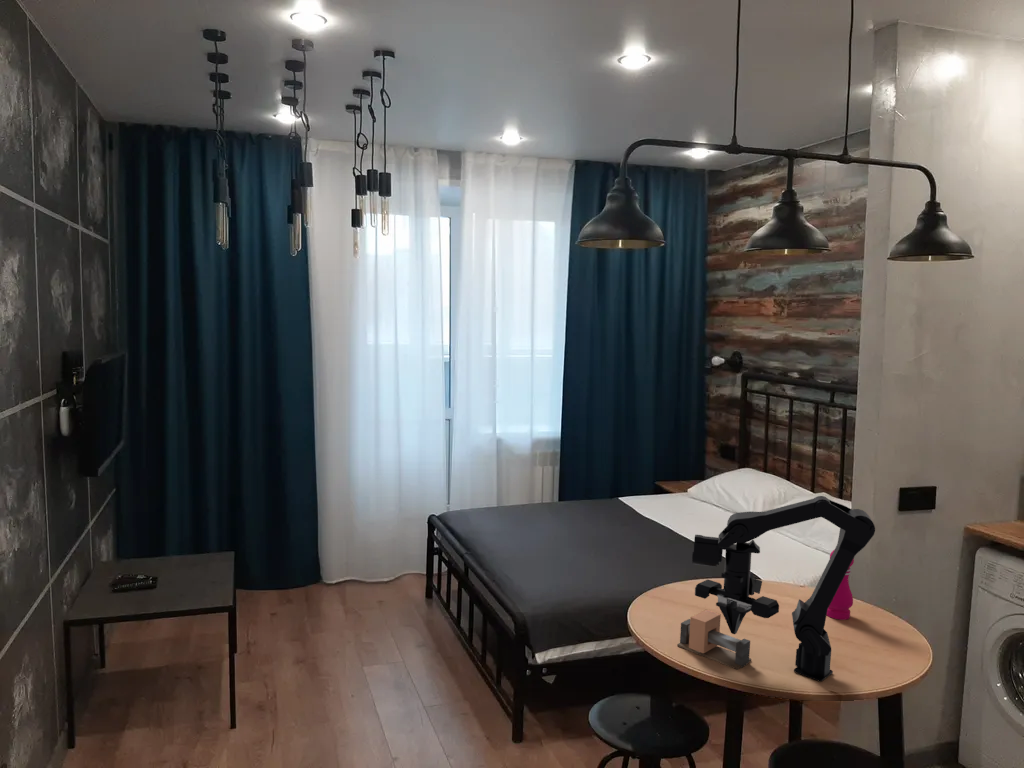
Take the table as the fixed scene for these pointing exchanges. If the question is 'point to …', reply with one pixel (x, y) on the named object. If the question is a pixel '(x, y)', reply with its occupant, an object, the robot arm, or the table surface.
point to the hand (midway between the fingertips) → (733, 633)
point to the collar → (703, 630)
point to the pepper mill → (841, 599)
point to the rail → (719, 653)
